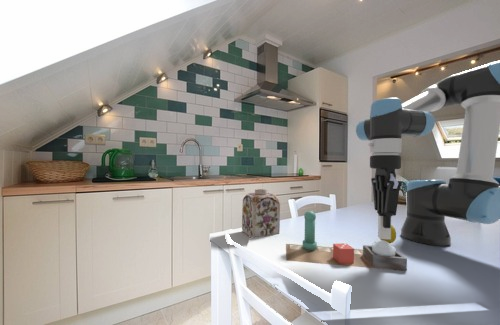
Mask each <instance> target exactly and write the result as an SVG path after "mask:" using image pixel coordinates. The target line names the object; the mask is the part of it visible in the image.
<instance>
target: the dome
mask: <svg viewBox="0 0 500 325" xmlns="http://www.w3.org/2000/svg"><path fill="white" fill-rule="evenodd" d="M371 244H372V245H371V246H372V252H373V253H374V254H375V255H380V256H393V257H395V250H396V247H394V246H393V245H392V243H388V242H386V241H383V240H378V241H376V242H373V243H371Z"/></svg>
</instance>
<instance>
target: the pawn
mask: <svg viewBox="0 0 500 325" xmlns="http://www.w3.org/2000/svg"><path fill="white" fill-rule="evenodd" d="M316 217H317V216H316V213H315V212H314V211H312V210H307V211H306V212H305V213H304V239H303V240H302V245H303V246H302V248H303V249H305V250H308V251H315V250H316V249H317V246H318V245H317V243H318V242H317V241H316V240H315V239H316Z"/></svg>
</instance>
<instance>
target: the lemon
mask: <svg viewBox="0 0 500 325" xmlns="http://www.w3.org/2000/svg"><path fill="white" fill-rule="evenodd" d="M396 239H397V232H396V228H395V227H394V226H393V225H392V224H391V239H380V238H379V241H381V240H383V241H386V242H388V243H390V244H393V243H394V242H395V241H396Z"/></svg>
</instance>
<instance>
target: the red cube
mask: <svg viewBox="0 0 500 325" xmlns="http://www.w3.org/2000/svg"><path fill="white" fill-rule="evenodd" d="M332 247H333V258H334V259H335V260H337V261H338V262H339V263H340V264H344V263H354V249H355V248H353V247H352V246H351V245H349V244H348V243H347V242H346V243H332Z"/></svg>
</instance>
